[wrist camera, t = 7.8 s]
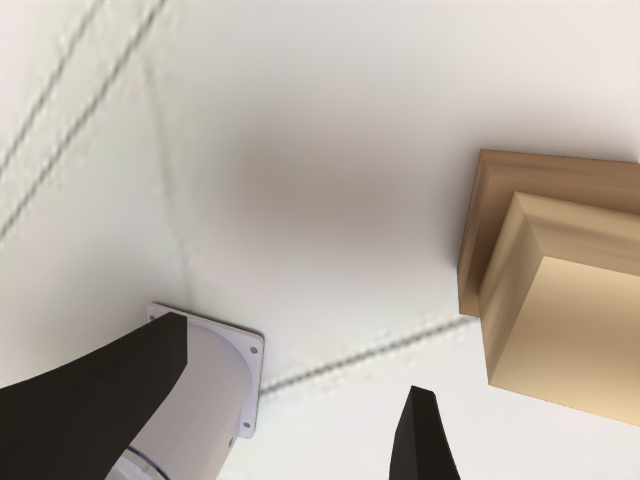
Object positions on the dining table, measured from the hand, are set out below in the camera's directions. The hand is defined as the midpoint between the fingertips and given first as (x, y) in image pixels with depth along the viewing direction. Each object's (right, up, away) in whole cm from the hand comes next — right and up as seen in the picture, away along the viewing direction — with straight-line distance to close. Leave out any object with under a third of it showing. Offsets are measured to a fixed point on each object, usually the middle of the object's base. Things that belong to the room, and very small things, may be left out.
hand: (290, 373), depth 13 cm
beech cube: (+10, +3, +3) cm, 11 cm away
